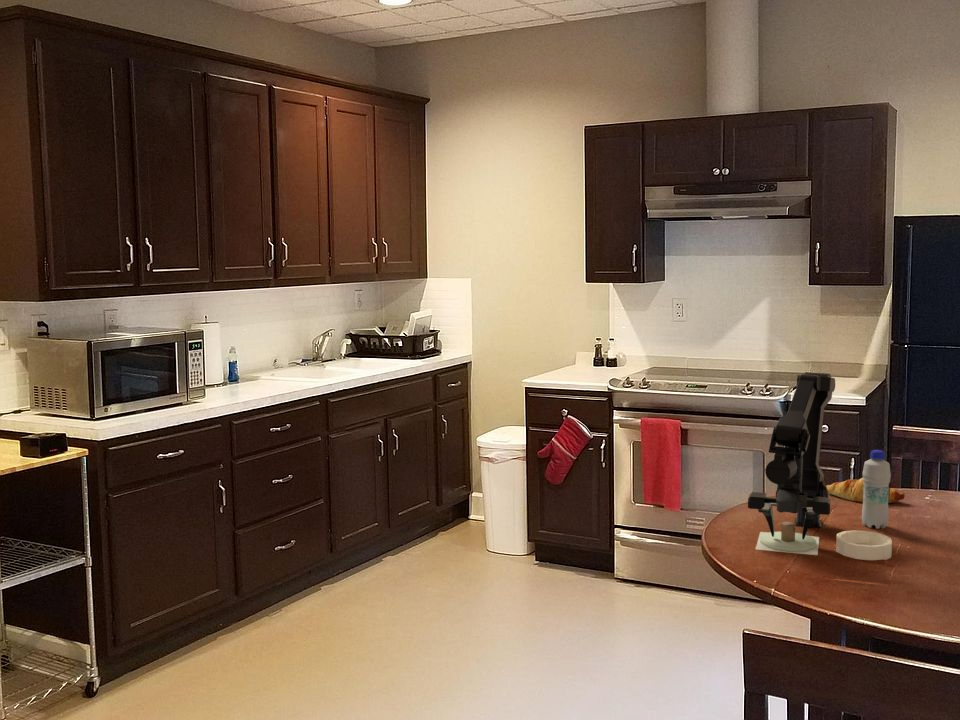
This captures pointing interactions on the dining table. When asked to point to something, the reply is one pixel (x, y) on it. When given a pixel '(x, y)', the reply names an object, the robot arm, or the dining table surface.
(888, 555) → the bowl
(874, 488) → the bottle
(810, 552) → the mat
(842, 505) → the dining table surface
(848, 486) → the croissant
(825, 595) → the dining table surface
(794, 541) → the lid
